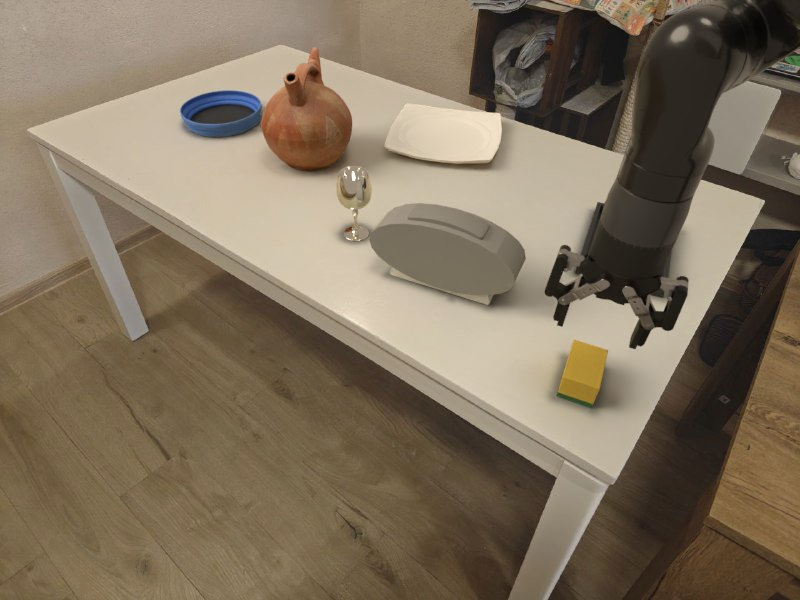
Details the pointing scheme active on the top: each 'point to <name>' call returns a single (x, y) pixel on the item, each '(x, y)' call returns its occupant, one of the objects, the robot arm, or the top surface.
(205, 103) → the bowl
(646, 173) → the robot arm
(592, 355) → the sponge
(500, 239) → the alarm clock
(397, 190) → the top surface
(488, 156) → the plate
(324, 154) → the jug
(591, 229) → the tray
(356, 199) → the wineglass
